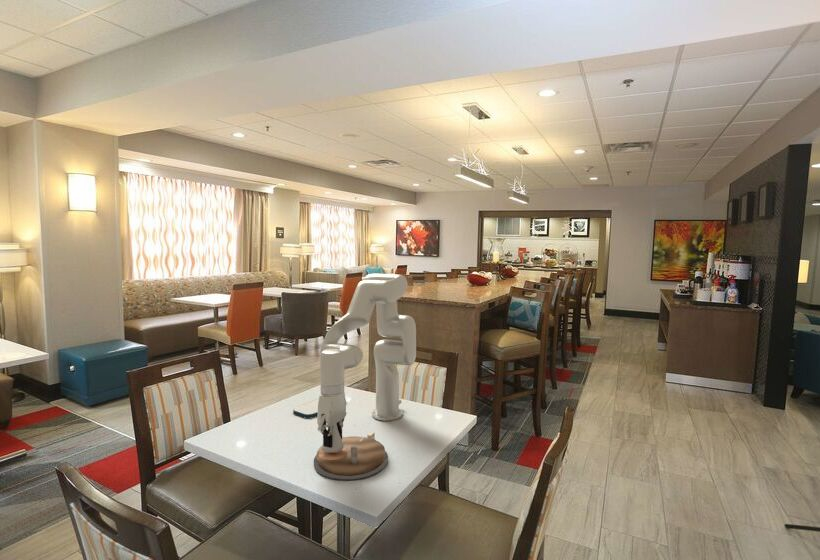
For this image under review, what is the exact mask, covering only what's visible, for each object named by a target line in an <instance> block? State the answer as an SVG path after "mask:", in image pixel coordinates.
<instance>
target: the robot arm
mask: <svg viewBox="0 0 820 560" xmlns="http://www.w3.org/2000/svg"><path fill="white" fill-rule="evenodd" d="M408 285H409V284H408V280H407V277H406V276H405V275H402V274H397V273H396V274H394V273H369V274H367V275H366V276H365V278H364V280H361V281H359V282H358V283H357V285H356V287H355V290H354V293H353V295H352V297H351V302H350V304H349V306H348V309H347V312H346V314H345V315H344V316H342V317H340V318H339V319H338V320H337V321H336V322H335V323H334V324H333V325H332V326H330V327H329V328H328V330H327V332H326V334H325V335H324V338H323V340H322V341H323V342H322V344H321V347H320V351H319V358H320V359H319V362H320V364H319V365H320V366H319V367H320V371H319V372H320V373H319V374H320V376H319V377H320V394H319V397H318V399H319V401H318V412H317V416H316V418H317V419H316V421H317V422H316V423H317V425H318V426H317V431H318V432H320V433H321V435H322V445H323V446H325V447H329V448H331V447H332V446H333V445H332V435H331V432H332V426H333V425H334V424H336V423H337V428H338V431H339V434H340V437H341V439H342V437H343V427H344V421H345V418H346V417H347V414H348V413H347V411H346V410H347V404H346V402H347V401H345V399H346V392H345V370H349V369H353V368H356V367H358V365H360V363H361V362H362V360H363V357H364V355H363V351H362V349H361V348H360V347H359V346H358V345H354V344H347V343H338V342H339V341H340V340H341V339H342V337H343V336H345V335H346V334H348V333H350V332H352V331H355V330H358V329H361V328H363V327H365V326H367V325H368V324H369V323H370V320H371V318H372V314H373V313H374V309H375V306H376V309H375V310H376V330H377V334H378V335H379V336H380V337H383V338H384V337H385V338H390V339H380V340H378V341H376V343H375V344H374V347H373V357H374V363H375V409H374V410H372V412H371V416H372V417H373V418H374V419H375V420H378V421H386V422H390V421H396V420H399V419H400V418H402V416H403V410H402V409H400V407H399V406H400V405H401V404H402V399H399V398H400V373H399V370H398V367H397V366H399V365H400V366H405V367H406V366H408V367H409V366H412V365H413V364H414V363H415V361H416V357H417V327H416V322H415V319H414V318H413V317H412V316H411V315H405V314H399V313H398V301H397V300H399V299H401V298H402V297H403V296H404V295H405V294H406V293H407V290H408V287H409V286H408ZM391 338H392V339H391ZM394 339H395V340H394ZM396 339H400V340H396Z"/></svg>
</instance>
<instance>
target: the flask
mask: <svg viewBox="0 0 820 560" xmlns="http://www.w3.org/2000/svg"><path fill="white" fill-rule="evenodd" d="M331 435H332V445H333V446H332V447H331V448H329V447H325V446H322V445H321V446H322V451H325V452H328V453H333V452H339V451H340V450H342V449H343V446H344V444H343V441H342V439H341V437H340V434H339V431H338V428H337V423H336V424H334V425H333V426H332V432H331Z"/></svg>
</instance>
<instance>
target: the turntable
mask: <svg viewBox="0 0 820 560" xmlns="http://www.w3.org/2000/svg"><path fill="white" fill-rule="evenodd" d="M342 441H343V444H344V446H343V449H342V450H340V451H339V452H333V453H328V452H325V451H322V446H323V444H322V445H321V446H320V447H319V448H318V450H317V451H316V455H317V464H318V465H319V467H320V468H322V469H323V470H325V471H327V472H329V473H333V474H338V475H357V474H362V473H366V472H369V471H372V470H374V469H376V468H377V467H379V466H380V465H381V464H382V463H383V462H384V460H385V451H386V448H385V446H384V445H383V444H382V443H381V442H379V440H376V439H375V440H374V439H371V438H367V437H365V436H359V435H358V436H356V435H354V436H342Z"/></svg>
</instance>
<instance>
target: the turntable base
mask: <svg viewBox="0 0 820 560" xmlns="http://www.w3.org/2000/svg"><path fill="white" fill-rule="evenodd" d="M375 435H376V433H375V431H371V432H369V433H368V434H367V438H371V439H374V440H376V439H375ZM388 464H389V454H388V451H386V450H385V460H384V462H383V463H382V464H381V465H380V466H379V467H377V468H376V469H374V470H372V471H369V472H366V473H362V474H357V475H338V474H333V473H329V472H327V471H325V470H323V469H322V468H320V467H319V465H318V464H317V454H316V455H315V456H314V458H313V469H314V471H316V473H317V474H318V475H320V476H322V477H324V478H326V479H329V480H332V481H337V482H338V481H339V482H355V481H361V480H366V479H369V478H372V477H374V476H376V475H378V474H380V473H381V472H383V471H384V470H385V469H386V468H387V466H388Z"/></svg>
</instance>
